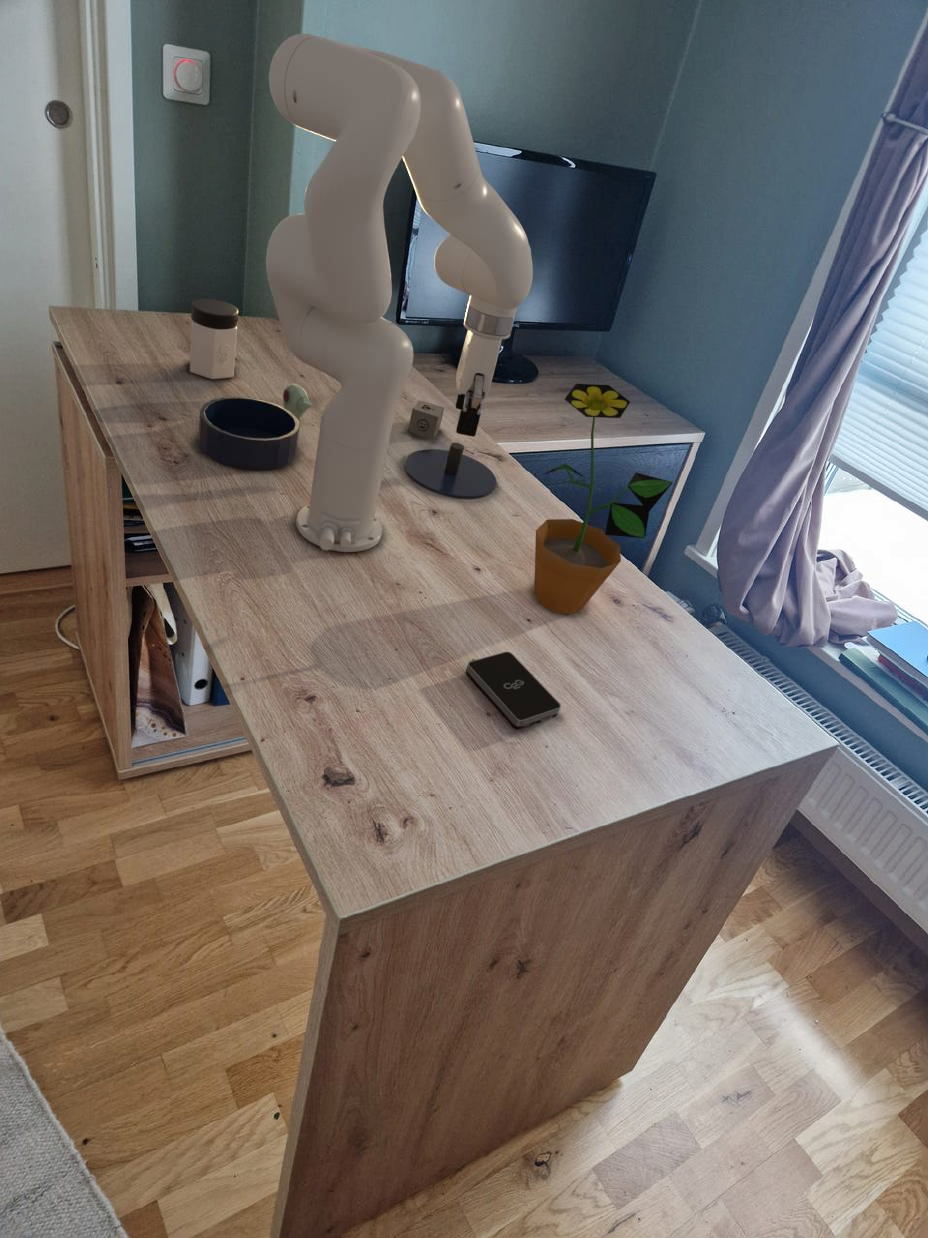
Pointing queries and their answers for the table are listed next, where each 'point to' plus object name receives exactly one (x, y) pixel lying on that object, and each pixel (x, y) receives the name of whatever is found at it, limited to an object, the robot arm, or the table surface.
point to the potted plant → (576, 550)
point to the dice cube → (426, 419)
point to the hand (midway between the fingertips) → (464, 421)
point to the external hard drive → (512, 690)
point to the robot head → (296, 400)
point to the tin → (248, 433)
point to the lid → (450, 472)
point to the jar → (213, 338)
